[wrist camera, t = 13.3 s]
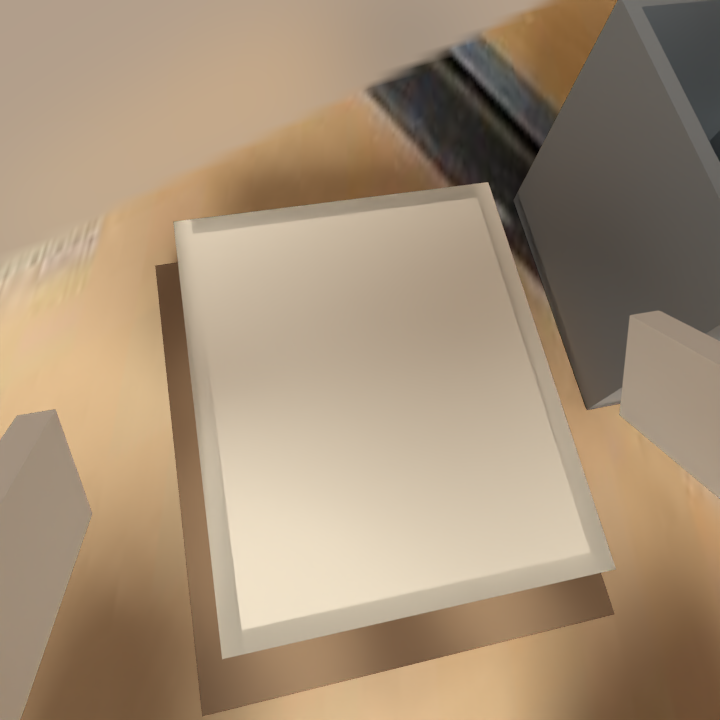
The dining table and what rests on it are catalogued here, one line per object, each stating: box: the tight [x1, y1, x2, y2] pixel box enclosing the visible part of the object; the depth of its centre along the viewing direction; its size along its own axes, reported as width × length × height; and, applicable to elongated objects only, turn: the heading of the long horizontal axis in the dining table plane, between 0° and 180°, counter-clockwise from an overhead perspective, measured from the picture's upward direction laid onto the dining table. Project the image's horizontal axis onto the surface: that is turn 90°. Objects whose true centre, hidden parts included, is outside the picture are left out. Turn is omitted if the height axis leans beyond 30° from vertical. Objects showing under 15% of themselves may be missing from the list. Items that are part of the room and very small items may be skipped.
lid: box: [173, 182, 616, 659], centre depth 18 cm, size 10×12×5 cm
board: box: [156, 263, 614, 716], centre depth 22 cm, size 13×15×2 cm
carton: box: [513, 0, 720, 410], centre depth 21 cm, size 8×10×10 cm
